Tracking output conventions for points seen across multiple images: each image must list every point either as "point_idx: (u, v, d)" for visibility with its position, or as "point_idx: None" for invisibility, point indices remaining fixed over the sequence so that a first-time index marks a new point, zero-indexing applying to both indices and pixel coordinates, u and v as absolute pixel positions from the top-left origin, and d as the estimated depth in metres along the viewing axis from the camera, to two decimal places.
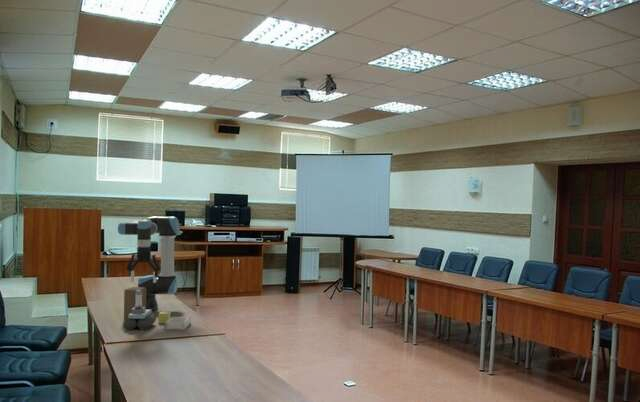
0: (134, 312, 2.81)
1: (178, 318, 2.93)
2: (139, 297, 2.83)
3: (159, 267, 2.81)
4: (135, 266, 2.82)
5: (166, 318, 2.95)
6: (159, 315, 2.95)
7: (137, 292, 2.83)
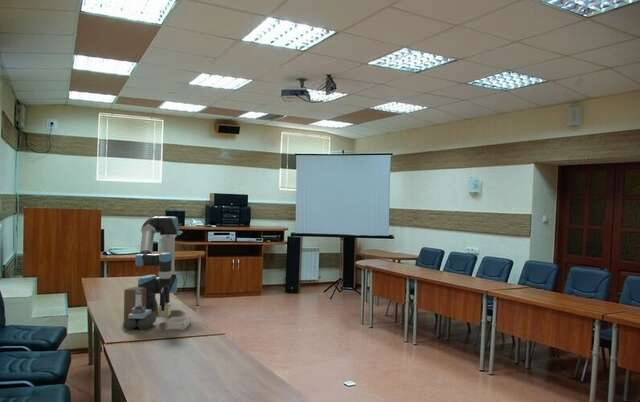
0: (134, 312, 2.81)
1: (178, 318, 2.93)
2: (139, 297, 2.83)
3: (161, 302, 2.91)
4: (166, 297, 3.00)
5: (166, 311, 2.95)
6: (159, 308, 2.95)
7: (137, 292, 2.83)
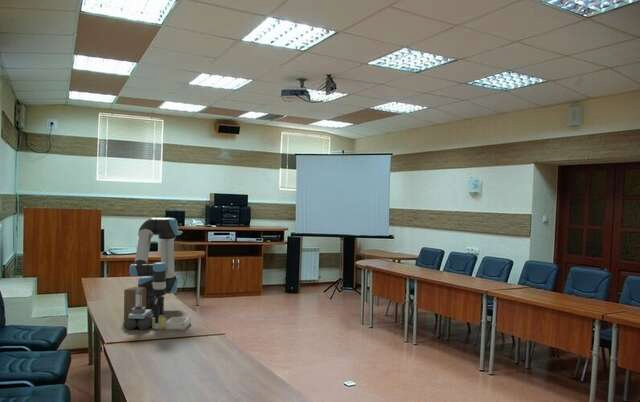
0: (134, 312, 2.81)
1: (178, 318, 2.93)
2: (139, 297, 2.83)
3: (155, 314, 2.79)
4: (161, 309, 2.88)
5: (160, 323, 2.83)
6: (153, 320, 2.83)
7: (137, 292, 2.83)
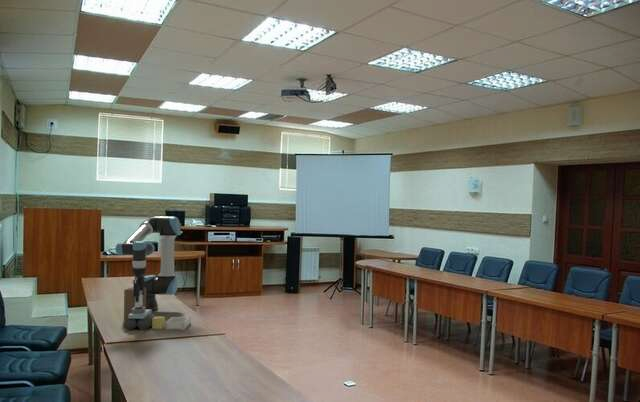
0: (134, 312, 2.81)
1: (178, 318, 2.93)
2: None
3: (135, 293, 2.79)
4: (141, 289, 2.87)
5: (160, 323, 2.83)
6: (153, 320, 2.83)
7: None
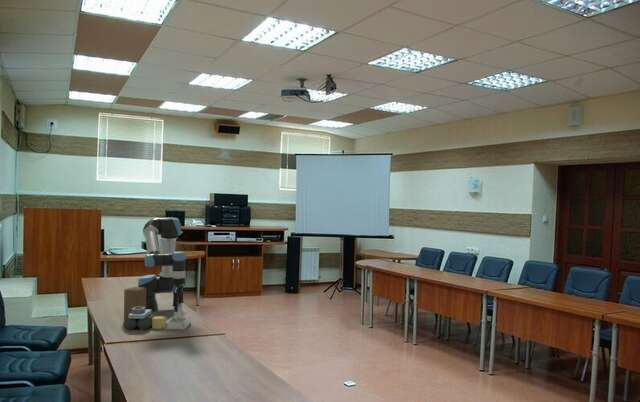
0: (134, 312, 2.81)
1: None
2: None
3: (174, 303, 2.80)
4: (180, 298, 2.91)
5: (160, 323, 2.83)
6: (153, 320, 2.82)
7: None
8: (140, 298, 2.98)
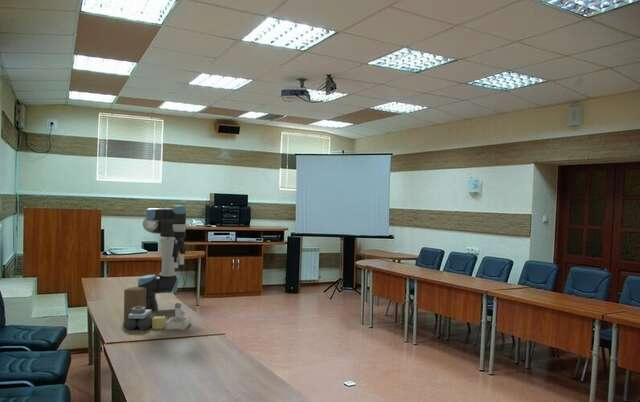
0: (134, 312, 2.81)
1: None
2: (178, 310, 2.86)
3: (174, 253, 2.78)
4: (182, 250, 2.93)
5: (160, 323, 2.83)
6: (153, 320, 2.82)
7: (176, 305, 2.86)
8: (140, 298, 2.98)
